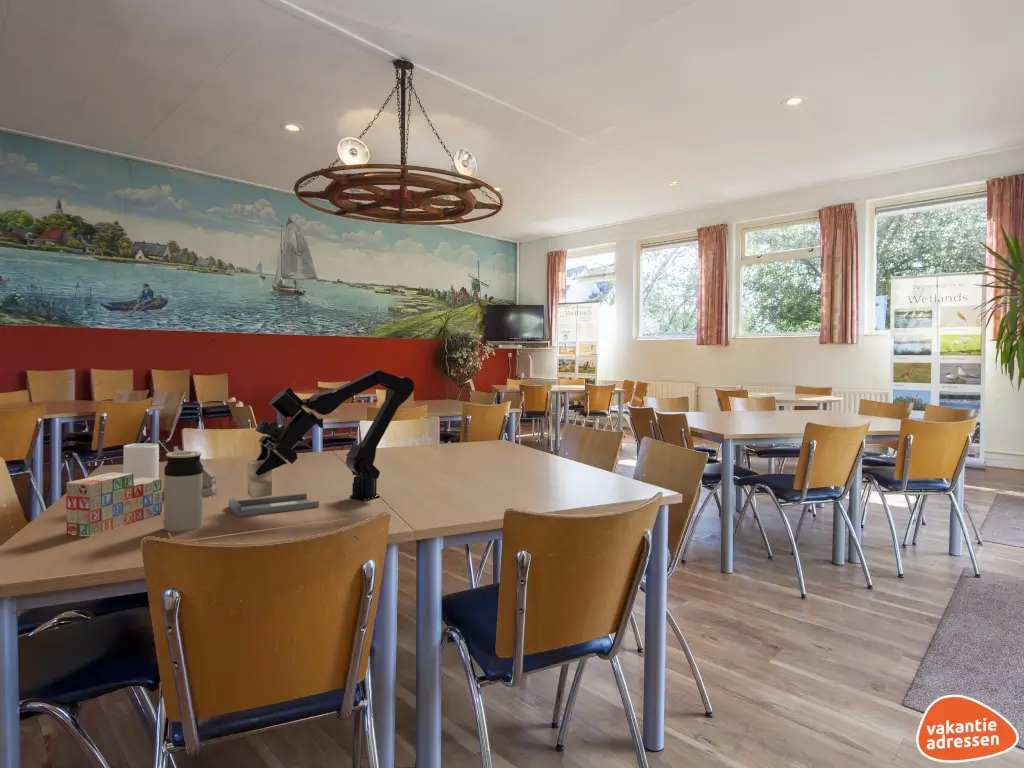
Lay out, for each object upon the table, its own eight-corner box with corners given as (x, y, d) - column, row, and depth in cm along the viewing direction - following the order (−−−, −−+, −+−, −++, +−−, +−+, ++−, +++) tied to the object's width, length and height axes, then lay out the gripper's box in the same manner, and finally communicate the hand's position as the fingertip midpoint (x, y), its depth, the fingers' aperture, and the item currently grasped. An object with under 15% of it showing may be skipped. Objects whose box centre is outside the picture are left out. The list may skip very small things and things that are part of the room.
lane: (305, 499, 171) (305, 489, 171) (318, 508, 161) (319, 497, 161) (228, 508, 159) (228, 497, 159) (237, 518, 149) (238, 507, 149)
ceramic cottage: (207, 498, 169) (207, 446, 169) (150, 499, 169) (150, 447, 169) (233, 490, 184) (233, 442, 185) (181, 490, 184) (181, 443, 185)
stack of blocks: (141, 512, 153) (141, 465, 153) (162, 514, 152) (162, 466, 152) (65, 535, 132) (65, 481, 132) (89, 537, 131) (89, 483, 131)
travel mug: (161, 534, 135) (162, 456, 134) (166, 525, 142) (167, 451, 141) (200, 531, 138) (201, 455, 137) (203, 522, 145) (204, 450, 145)
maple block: (267, 492, 161) (267, 459, 161) (271, 495, 157) (271, 462, 157) (247, 494, 158) (247, 461, 158) (252, 498, 154) (251, 464, 154)
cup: (133, 499, 166) (134, 442, 166) (164, 499, 167) (164, 443, 166) (116, 506, 158) (116, 447, 157) (148, 506, 159) (149, 447, 158)
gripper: (266, 407, 167) (224, 448, 161) (284, 412, 152) (238, 458, 146) (294, 432, 172) (254, 474, 166) (315, 440, 157) (271, 486, 151)
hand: (254, 472), depth 157 cm, fingers closed on maple block, 5 cm apart
